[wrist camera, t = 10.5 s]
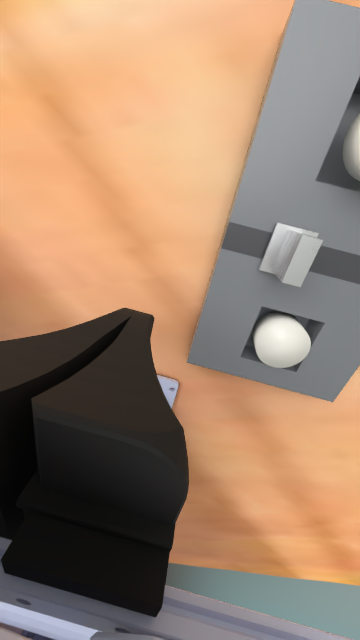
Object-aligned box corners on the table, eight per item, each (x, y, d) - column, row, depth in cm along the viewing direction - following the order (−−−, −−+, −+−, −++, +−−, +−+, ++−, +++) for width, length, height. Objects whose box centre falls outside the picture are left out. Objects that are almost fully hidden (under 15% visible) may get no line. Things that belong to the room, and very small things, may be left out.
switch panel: (320, 381, 21) (332, 402, 19) (189, 345, 21) (186, 362, 19) (514, 86, 12) (582, 60, 10) (283, 30, 12) (297, -7, 10)
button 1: (289, 357, 19) (296, 373, 17) (245, 345, 19) (248, 360, 17) (310, 318, 18) (320, 331, 16) (262, 306, 18) (267, 317, 16)
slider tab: (295, 278, 15) (311, 294, 12) (258, 268, 15) (266, 282, 12) (316, 232, 14) (340, 239, 11) (276, 222, 14) (290, 226, 11)
